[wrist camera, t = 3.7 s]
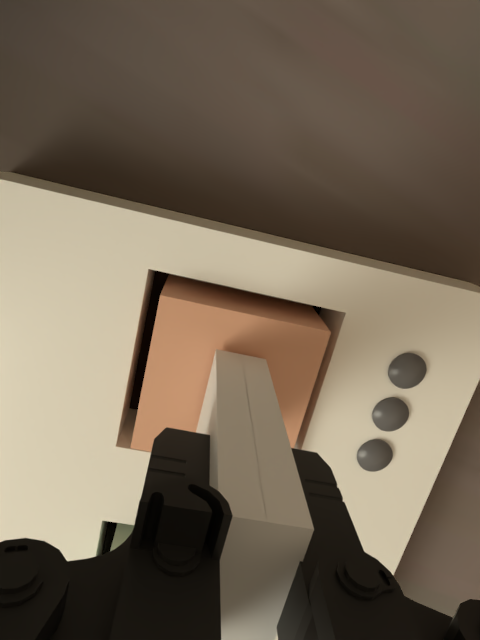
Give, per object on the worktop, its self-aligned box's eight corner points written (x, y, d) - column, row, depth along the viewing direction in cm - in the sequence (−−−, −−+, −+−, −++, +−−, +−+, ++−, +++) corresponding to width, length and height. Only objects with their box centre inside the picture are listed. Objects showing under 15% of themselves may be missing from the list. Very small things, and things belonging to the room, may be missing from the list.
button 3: (143, 405, 16) (130, 448, 14) (169, 274, 15) (160, 294, 12) (274, 429, 17) (285, 474, 14) (311, 305, 16) (331, 332, 13)
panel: (-39, 736, 22) (-71, 808, 19) (9, 171, 14) (-35, 171, 12) (275, 762, 24) (282, 830, 21) (469, 282, 16) (516, 302, 14)
